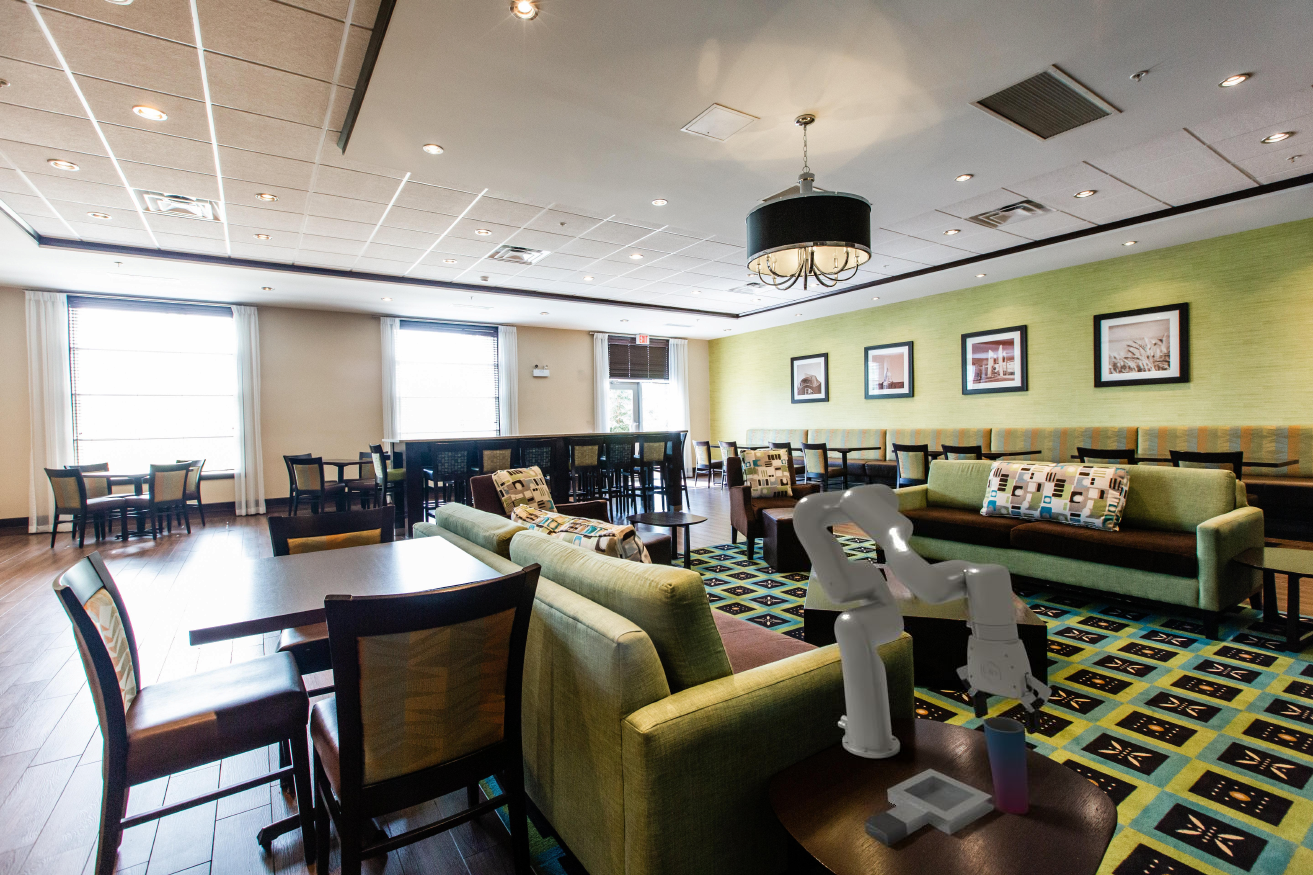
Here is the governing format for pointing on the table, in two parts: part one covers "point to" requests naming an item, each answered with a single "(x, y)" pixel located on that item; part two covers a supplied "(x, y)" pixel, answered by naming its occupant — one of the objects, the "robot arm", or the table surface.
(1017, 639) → the robot arm
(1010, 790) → the cup
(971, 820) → the holder
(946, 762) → the table surface
